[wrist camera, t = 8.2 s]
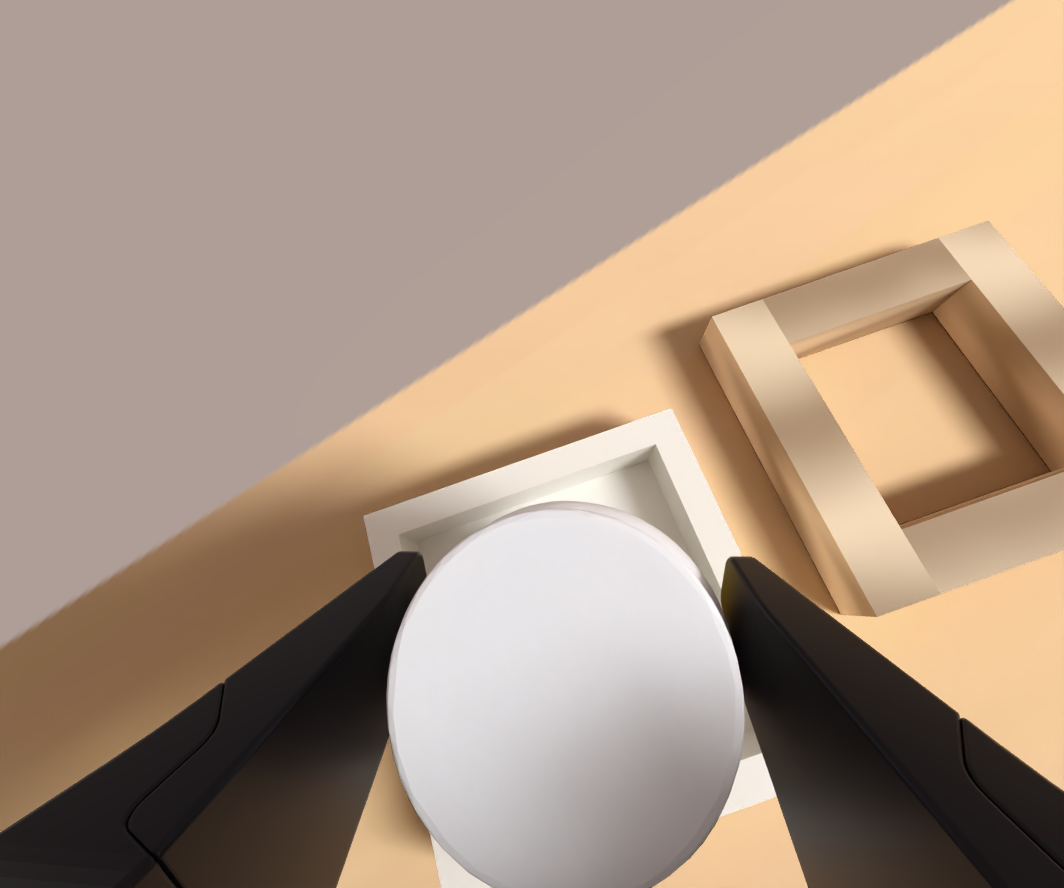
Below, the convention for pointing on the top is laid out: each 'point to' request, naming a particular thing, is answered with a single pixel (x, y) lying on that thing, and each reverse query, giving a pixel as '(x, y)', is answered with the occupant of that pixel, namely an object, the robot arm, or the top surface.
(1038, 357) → the wooden square frame
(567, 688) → the supplement bottle
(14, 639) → the top surface
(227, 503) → the top surface
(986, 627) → the top surface
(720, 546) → the plastic tray
